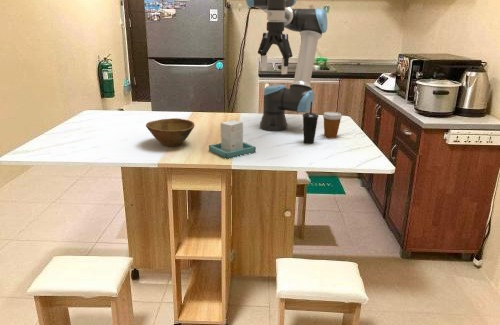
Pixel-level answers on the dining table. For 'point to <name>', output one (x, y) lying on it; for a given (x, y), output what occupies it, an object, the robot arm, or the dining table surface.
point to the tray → (246, 150)
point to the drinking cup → (309, 126)
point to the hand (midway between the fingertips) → (273, 72)
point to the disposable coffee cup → (331, 124)
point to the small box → (231, 136)
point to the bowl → (170, 130)
